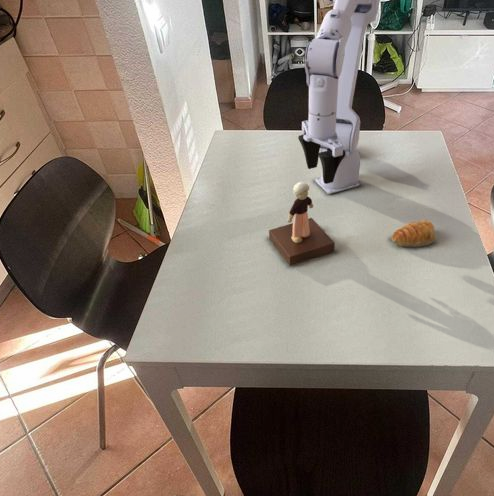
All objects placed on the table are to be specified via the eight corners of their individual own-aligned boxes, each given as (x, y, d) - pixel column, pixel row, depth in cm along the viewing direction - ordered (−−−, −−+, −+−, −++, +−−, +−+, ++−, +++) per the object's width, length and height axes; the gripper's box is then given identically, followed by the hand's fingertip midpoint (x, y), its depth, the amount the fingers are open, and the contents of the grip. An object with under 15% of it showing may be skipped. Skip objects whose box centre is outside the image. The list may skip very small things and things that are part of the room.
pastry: (399, 252, 94) (402, 238, 92) (385, 236, 99) (388, 221, 96) (436, 244, 96) (441, 229, 93) (421, 228, 100) (425, 213, 98)
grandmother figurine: (300, 247, 92) (300, 193, 83) (285, 242, 94) (283, 188, 84) (317, 229, 96) (319, 176, 87) (302, 224, 98) (303, 171, 88)
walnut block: (311, 226, 102) (311, 217, 100) (334, 252, 95) (334, 242, 93) (269, 239, 99) (268, 230, 97) (289, 266, 92) (289, 256, 90)
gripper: (289, 102, 89) (290, 165, 100) (322, 128, 81) (320, 193, 91) (318, 96, 91) (316, 158, 102) (354, 120, 83) (348, 186, 93)
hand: (320, 174), depth 97 cm, fingers open, 7 cm apart
